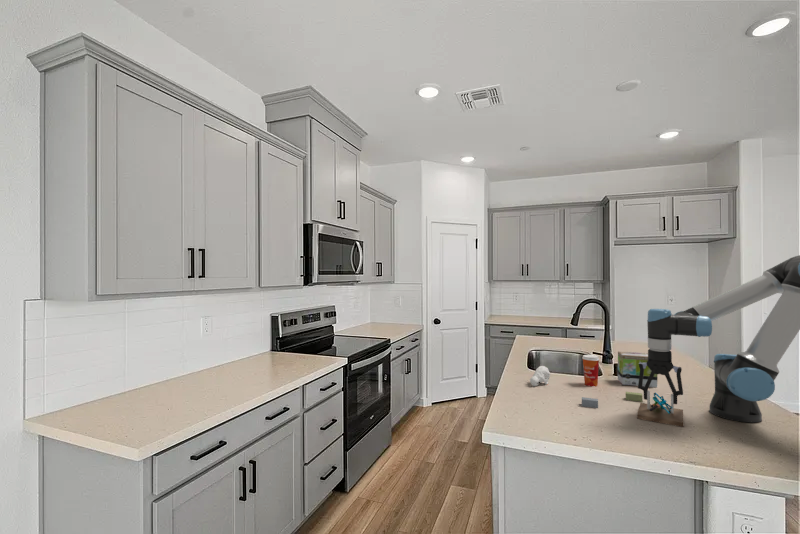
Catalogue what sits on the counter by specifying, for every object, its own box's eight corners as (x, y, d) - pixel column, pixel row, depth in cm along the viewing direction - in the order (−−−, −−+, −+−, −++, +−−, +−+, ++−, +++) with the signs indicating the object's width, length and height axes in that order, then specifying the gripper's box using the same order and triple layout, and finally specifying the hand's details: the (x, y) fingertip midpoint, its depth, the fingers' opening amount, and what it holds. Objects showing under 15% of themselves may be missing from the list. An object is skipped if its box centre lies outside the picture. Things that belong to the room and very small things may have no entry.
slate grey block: (597, 406, 159) (597, 399, 159) (598, 408, 157) (598, 401, 157) (581, 404, 162) (581, 397, 162) (581, 406, 159) (581, 399, 159)
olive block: (641, 400, 167) (641, 393, 167) (642, 402, 164) (642, 395, 164) (625, 398, 169) (625, 391, 169) (626, 400, 166) (626, 393, 167)
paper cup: (578, 383, 191) (578, 355, 191) (589, 382, 194) (589, 353, 194) (592, 388, 184) (592, 358, 184) (603, 386, 187) (603, 356, 187)
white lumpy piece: (550, 366, 191) (536, 372, 184) (552, 383, 191) (537, 390, 184) (539, 363, 196) (525, 369, 189) (540, 380, 196) (526, 387, 189)
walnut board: (683, 413, 150) (683, 409, 150) (683, 427, 137) (683, 422, 137) (640, 406, 158) (640, 402, 158) (637, 418, 145) (637, 414, 145)
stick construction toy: (678, 410, 141) (661, 391, 144) (661, 420, 142) (645, 401, 145) (665, 409, 153) (651, 391, 156) (650, 418, 153) (636, 400, 156)
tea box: (622, 385, 188) (622, 354, 188) (617, 380, 198) (617, 350, 198) (658, 388, 184) (657, 356, 184) (651, 382, 193) (650, 352, 194)
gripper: (691, 350, 145) (692, 412, 145) (630, 345, 157) (631, 402, 157) (692, 354, 139) (693, 418, 139) (628, 348, 151) (629, 407, 150)
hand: (660, 410), depth 148 cm, fingers closed on stick construction toy, 7 cm apart
